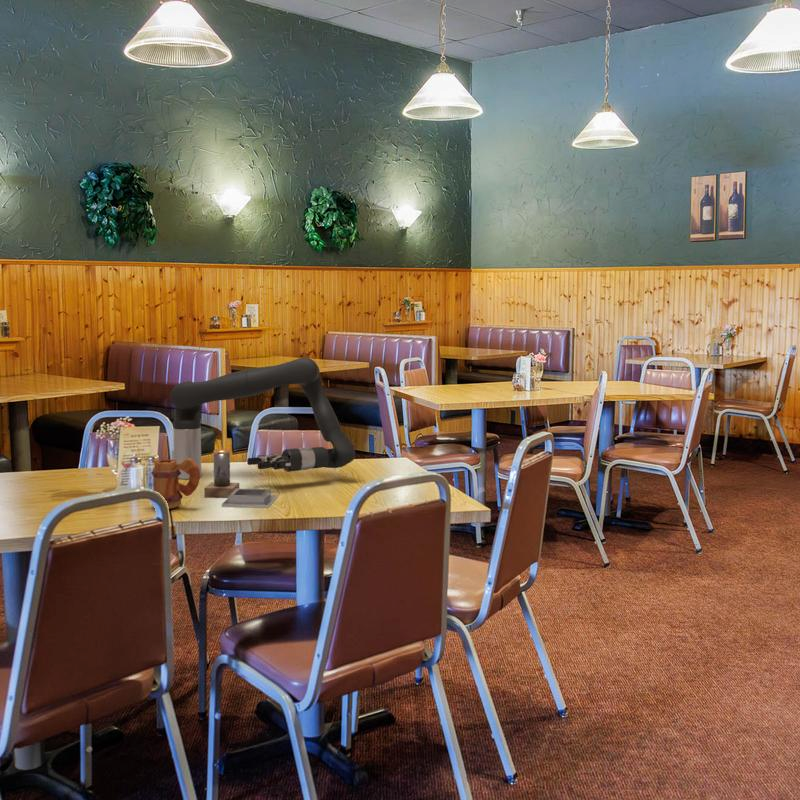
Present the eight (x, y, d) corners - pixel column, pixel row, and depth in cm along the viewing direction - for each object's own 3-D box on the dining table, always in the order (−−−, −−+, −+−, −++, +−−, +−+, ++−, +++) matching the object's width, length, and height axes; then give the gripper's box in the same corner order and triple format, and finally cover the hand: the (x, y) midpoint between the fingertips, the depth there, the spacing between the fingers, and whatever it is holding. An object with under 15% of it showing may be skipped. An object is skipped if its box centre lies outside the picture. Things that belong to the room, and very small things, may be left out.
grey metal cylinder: (212, 486, 282) (211, 451, 281) (216, 483, 287) (215, 448, 286) (228, 487, 282) (227, 451, 281) (231, 483, 287) (231, 449, 286)
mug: (146, 510, 263) (145, 459, 261) (157, 504, 271) (156, 455, 269) (194, 512, 261) (193, 461, 259) (204, 506, 269) (203, 456, 267)
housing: (221, 506, 268) (221, 496, 268) (232, 496, 282) (232, 487, 282) (268, 507, 267) (268, 497, 267) (276, 497, 281) (276, 488, 281)
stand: (204, 497, 281) (204, 487, 281) (211, 491, 290) (211, 482, 290) (233, 497, 280) (232, 488, 280) (239, 491, 289) (239, 482, 289)
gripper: (289, 445, 304) (244, 449, 295) (308, 451, 292) (261, 455, 283) (289, 467, 305) (244, 471, 296) (308, 474, 293) (261, 478, 284)
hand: (252, 463), depth 290 cm, fingers open, 8 cm apart
